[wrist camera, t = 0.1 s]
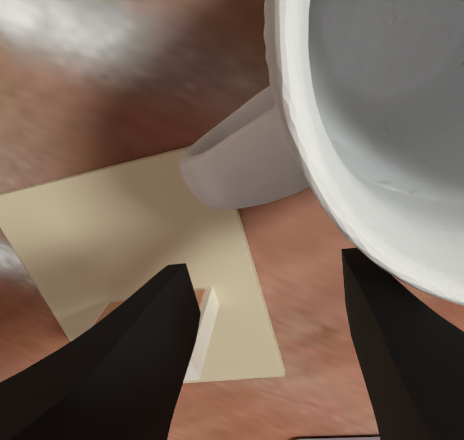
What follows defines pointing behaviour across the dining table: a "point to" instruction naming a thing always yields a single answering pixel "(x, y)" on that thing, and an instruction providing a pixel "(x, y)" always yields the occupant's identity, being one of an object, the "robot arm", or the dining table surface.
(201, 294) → the tile
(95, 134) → the dining table surface
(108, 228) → the mat
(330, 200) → the mug
